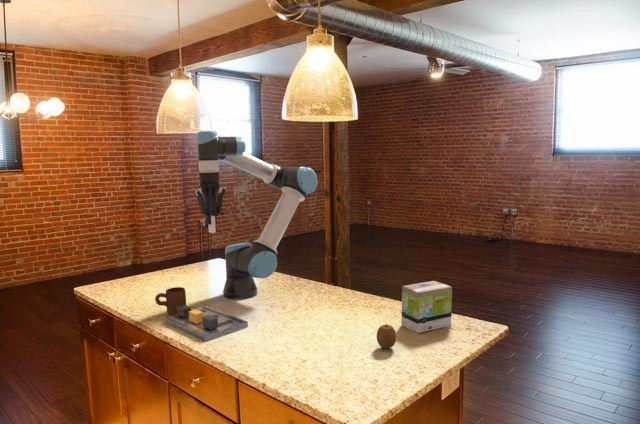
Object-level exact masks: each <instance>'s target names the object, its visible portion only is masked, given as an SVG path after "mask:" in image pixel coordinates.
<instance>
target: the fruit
mask: <svg viewBox="0 0 640 424" xmlns="http://www.w3.org/2000/svg"><path fill="white" fill-rule="evenodd" d="M376 342H377V343H378V346H380V348H383V349H385V350H388V349H391V348H393V347H394V346H395V344H396V343H397V333H396V330H395V328H394V327H393V326H392V325H391V324H387V323H385V324H382V325H380V326H379V327H378V329H377V332H376Z"/></svg>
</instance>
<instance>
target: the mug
mask: <svg viewBox="0 0 640 424" xmlns="http://www.w3.org/2000/svg"><path fill="white" fill-rule="evenodd" d="M160 298H165V300H161V299H160ZM154 300H155V303H156V305H158V306H163V307H166V313H167V314H168V316H170V315H174V314H177V306H180V305H183V304H184V305H187V295H186V289H185V288H184V287H183V286H182V287H181V286H180V287H179V286H177V287H176V286H175V287H170V288H167V289H166V290H165V293H164V292H160V293H157V294H156V295H155V299H154Z"/></svg>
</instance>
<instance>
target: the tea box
mask: <svg viewBox="0 0 640 424" xmlns="http://www.w3.org/2000/svg"><path fill="white" fill-rule="evenodd" d="M401 287H402V288H401V289H402V290H401V320H400V321H401V325H402V326H403V327H405V328H407V329H409V330H411V331H413V332H414V333H417V334H421V333H423V332H424V333H425V332H427V331H428V332H429V331H431V330H437V329H442V328H447V327H448V328H449V327H451V326H452V314H453V313H452V308H453V307H452V304H453V303H452V302H453V301H452V300H453V287H452V286H451V285H448V284H445V283H442V282H439V281H436V280H430V281H424V282H419V283H413V284H407V285H402V286H401Z"/></svg>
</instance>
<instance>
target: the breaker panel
mask: <svg viewBox="0 0 640 424" xmlns="http://www.w3.org/2000/svg"><path fill="white" fill-rule="evenodd" d="M191 308H192V307H191V306H189V305H187V304H186V305H184V304H183V305H180V306H177V314H174V315H167V316H164V317H163V320H164V323H165V324H167V325H169V326H171V327H173V328H175V329H178V330H180V331H182V332H184V333H186V334H188V335H190V336H192V337H194V338H196V339H199V340H200V341H202V342H204V343H205V342H208V341H211V340H215V339H216V338H219V337H222V336H225V335H228V334H231V333H234V332H237V331H240V330H243V329H246V328H248V327H249V321H247V320H245V319H242V318H240V317H237V316H234V315H231V314H228V313H226V312H224V311H221V310H218V309H215V308H213V307H211V306H208V305H202V306H199V307H197V308H193V309H191ZM192 310H199V311H201V312H203V313H204V317H202V321H203V322H201V323H198V324H196V323H193V322H191V321H189V311H192Z"/></svg>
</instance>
